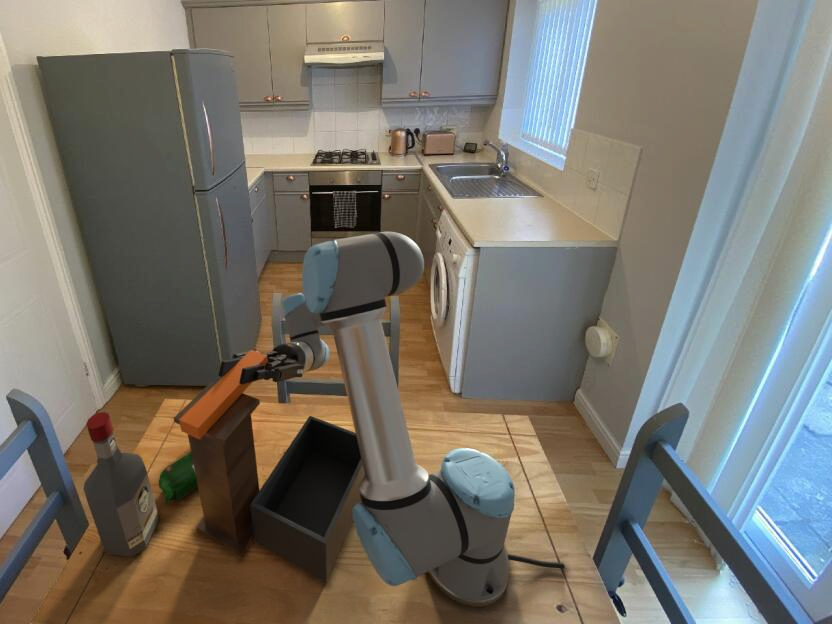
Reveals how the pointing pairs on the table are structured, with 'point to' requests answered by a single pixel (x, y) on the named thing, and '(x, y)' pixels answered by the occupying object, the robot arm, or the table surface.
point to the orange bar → (219, 397)
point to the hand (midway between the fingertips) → (232, 372)
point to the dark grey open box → (310, 498)
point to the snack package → (178, 478)
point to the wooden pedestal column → (226, 473)
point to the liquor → (119, 493)
